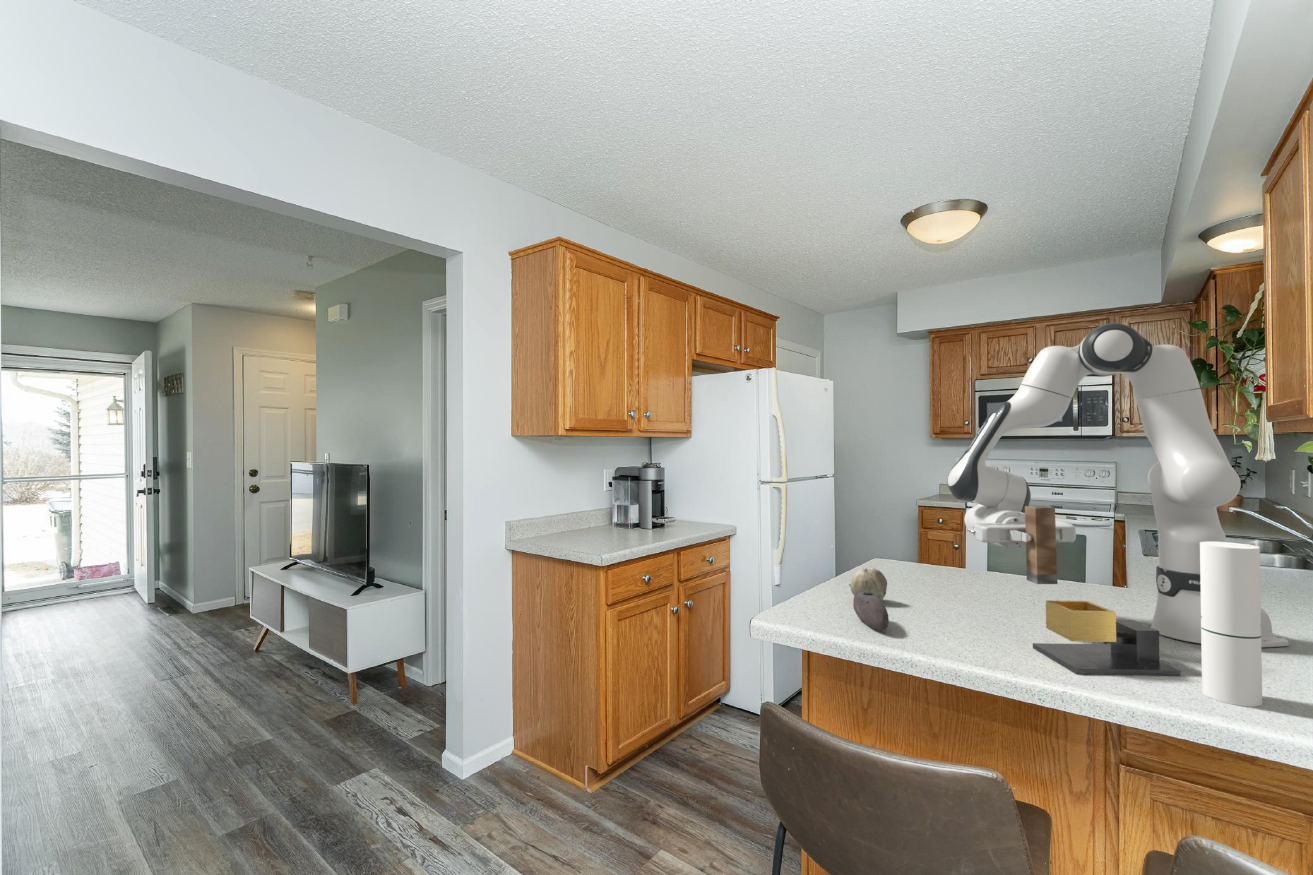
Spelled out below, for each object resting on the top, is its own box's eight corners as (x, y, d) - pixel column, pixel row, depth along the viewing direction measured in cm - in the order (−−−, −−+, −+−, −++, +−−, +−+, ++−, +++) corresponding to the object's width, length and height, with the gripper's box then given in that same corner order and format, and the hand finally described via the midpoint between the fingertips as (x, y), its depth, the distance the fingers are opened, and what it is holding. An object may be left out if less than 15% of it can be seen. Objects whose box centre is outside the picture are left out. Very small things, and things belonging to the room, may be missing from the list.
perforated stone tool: (896, 636, 131) (895, 604, 131) (871, 636, 131) (871, 604, 131) (873, 617, 146) (873, 588, 146) (851, 616, 146) (851, 588, 146)
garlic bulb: (885, 611, 159) (899, 577, 157) (864, 610, 155) (877, 575, 153) (860, 593, 167) (872, 560, 165) (838, 591, 163) (851, 558, 161)
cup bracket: (1124, 649, 122) (1123, 597, 122) (1180, 676, 108) (1179, 617, 108) (1032, 648, 123) (1032, 596, 123) (1076, 674, 109) (1075, 616, 109)
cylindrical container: (1260, 696, 99) (1257, 544, 99) (1264, 710, 94) (1261, 550, 94) (1201, 684, 104) (1199, 540, 104) (1202, 698, 99) (1199, 545, 99)
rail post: (1046, 579, 131) (1044, 506, 131) (1057, 584, 127) (1055, 507, 127) (1026, 579, 131) (1024, 506, 131) (1037, 584, 127) (1035, 508, 127)
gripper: (963, 516, 142) (992, 523, 129) (1052, 515, 141) (1091, 522, 127) (963, 542, 142) (993, 553, 129) (1053, 541, 141) (1092, 552, 127)
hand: (1043, 537), depth 128 cm, fingers closed on rail post, 4 cm apart
